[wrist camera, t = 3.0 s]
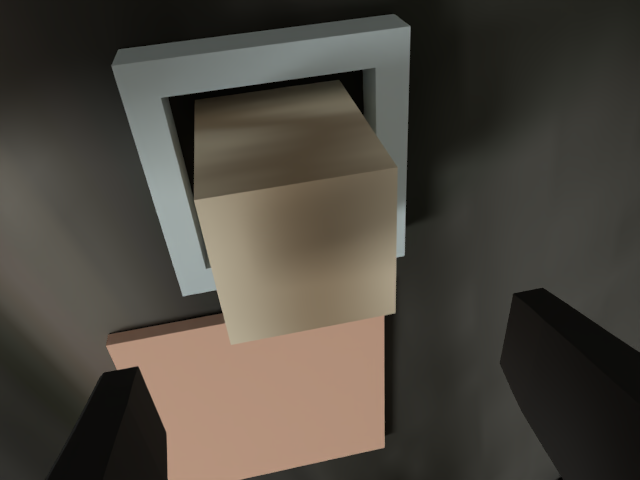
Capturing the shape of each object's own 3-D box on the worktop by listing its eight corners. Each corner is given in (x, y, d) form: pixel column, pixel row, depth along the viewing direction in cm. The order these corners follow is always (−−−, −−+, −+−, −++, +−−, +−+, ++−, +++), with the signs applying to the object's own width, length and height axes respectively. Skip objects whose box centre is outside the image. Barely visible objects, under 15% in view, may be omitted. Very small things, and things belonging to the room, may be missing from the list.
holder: (183, 269, 19) (182, 296, 18) (118, 49, 15) (111, 65, 13) (392, 232, 20) (404, 255, 19) (393, 13, 16) (410, 26, 14)
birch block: (222, 221, 19) (230, 345, 14) (194, 99, 16) (193, 200, 11) (345, 200, 19) (395, 313, 14) (339, 79, 16) (397, 167, 12)
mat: (175, 482, 27) (174, 494, 26) (108, 334, 20) (106, 345, 20) (381, 437, 28) (384, 447, 28) (379, 283, 22) (384, 293, 21)
